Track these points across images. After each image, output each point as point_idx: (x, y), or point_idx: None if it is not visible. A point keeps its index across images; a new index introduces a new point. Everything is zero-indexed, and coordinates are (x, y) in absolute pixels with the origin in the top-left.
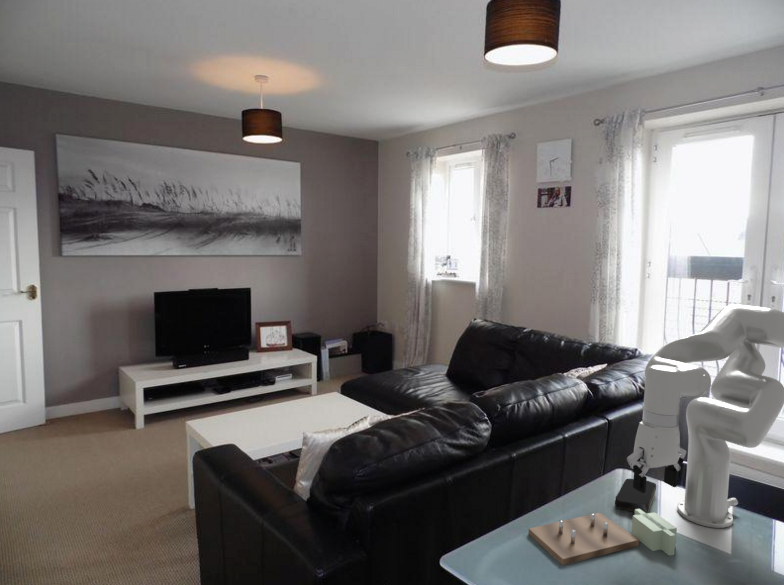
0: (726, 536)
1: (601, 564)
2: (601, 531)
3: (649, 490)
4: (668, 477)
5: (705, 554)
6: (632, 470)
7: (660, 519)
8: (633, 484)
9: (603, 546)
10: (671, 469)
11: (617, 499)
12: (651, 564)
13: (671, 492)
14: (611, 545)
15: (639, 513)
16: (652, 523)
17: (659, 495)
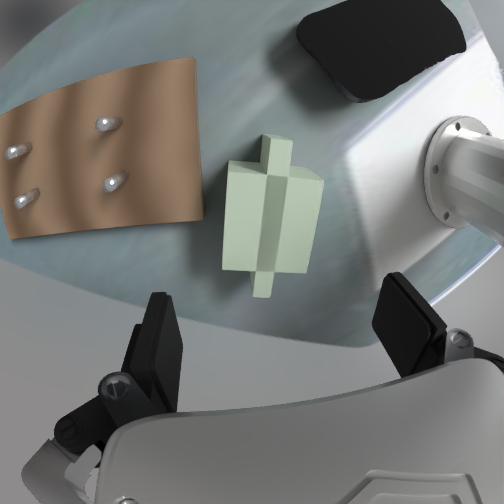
0: (427, 245)
1: (78, 250)
2: (122, 157)
3: (432, 54)
4: (395, 320)
5: (331, 282)
6: (92, 401)
7: (302, 223)
8: (149, 303)
9: (92, 221)
10: (419, 364)
11: (300, 28)
12: (182, 279)
13: (478, 71)
14: (112, 223)
15: (267, 164)
16: (256, 233)
17: (452, 59)
